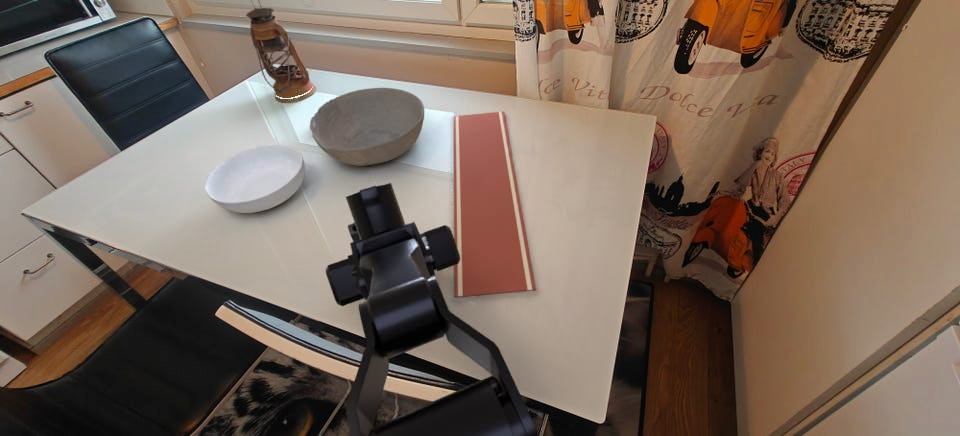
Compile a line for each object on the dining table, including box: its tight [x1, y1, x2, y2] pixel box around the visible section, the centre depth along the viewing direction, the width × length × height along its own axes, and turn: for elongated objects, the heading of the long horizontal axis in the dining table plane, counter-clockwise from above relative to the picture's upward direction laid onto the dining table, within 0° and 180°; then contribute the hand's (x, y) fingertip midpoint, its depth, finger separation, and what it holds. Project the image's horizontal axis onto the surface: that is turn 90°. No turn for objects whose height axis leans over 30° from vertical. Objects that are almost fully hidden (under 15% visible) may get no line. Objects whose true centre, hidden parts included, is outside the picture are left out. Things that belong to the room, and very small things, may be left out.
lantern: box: [245, 0, 317, 104], centre depth 121 cm, size 17×13×30 cm
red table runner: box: [453, 111, 537, 298], centre depth 91 cm, size 60×14×1 cm, turn 3°
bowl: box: [309, 87, 425, 167], centre depth 102 cm, size 28×28×10 cm
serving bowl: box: [204, 143, 306, 214], centre depth 92 cm, size 21×21×7 cm
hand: (395, 261), depth 68 cm, fingers closed on can, 7 cm apart
